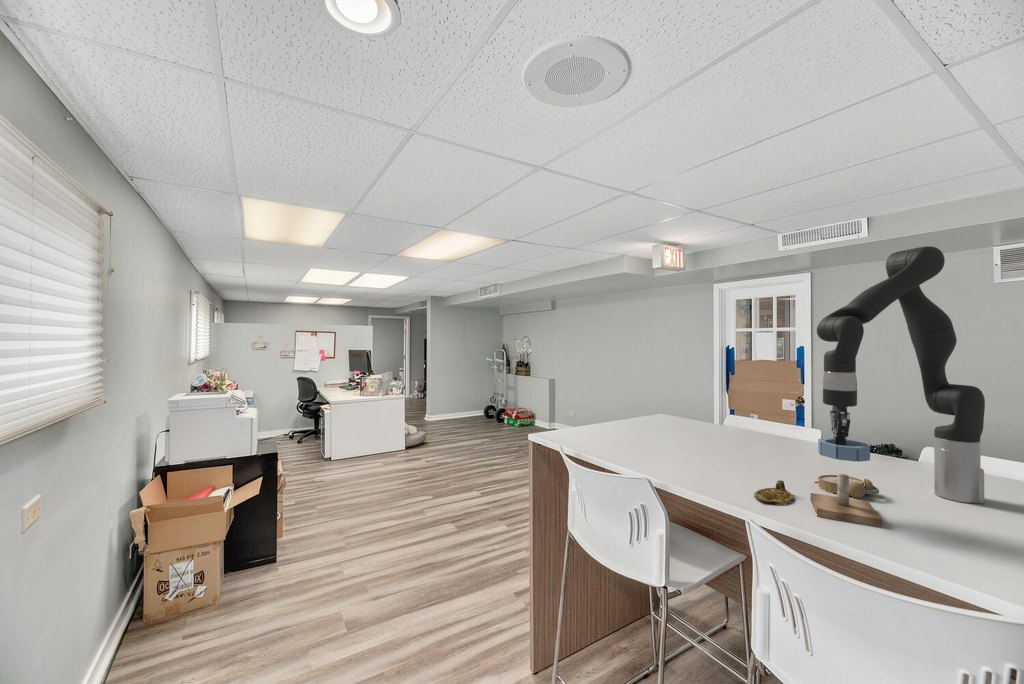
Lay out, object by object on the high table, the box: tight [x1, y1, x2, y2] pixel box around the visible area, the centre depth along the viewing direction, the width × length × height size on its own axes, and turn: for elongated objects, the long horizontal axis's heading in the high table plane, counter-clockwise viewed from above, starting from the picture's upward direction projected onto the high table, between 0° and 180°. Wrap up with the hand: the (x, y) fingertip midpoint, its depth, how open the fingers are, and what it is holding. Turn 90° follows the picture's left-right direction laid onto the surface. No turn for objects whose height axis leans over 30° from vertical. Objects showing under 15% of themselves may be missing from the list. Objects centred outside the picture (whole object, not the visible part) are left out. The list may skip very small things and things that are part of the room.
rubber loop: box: [817, 437, 871, 463], centre depth 111 cm, size 10×10×4 cm
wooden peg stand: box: [810, 473, 883, 528], centre depth 111 cm, size 13×13×10 cm
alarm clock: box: [813, 474, 880, 499], centre depth 126 cm, size 11×5×15 cm
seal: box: [753, 479, 795, 506], centre depth 121 cm, size 9×5×15 cm
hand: (839, 449), depth 115 cm, fingers closed on rubber loop, 1 cm apart
